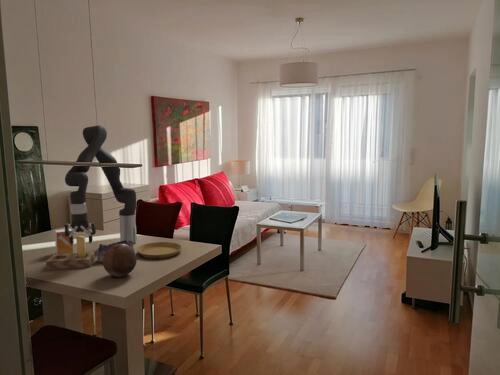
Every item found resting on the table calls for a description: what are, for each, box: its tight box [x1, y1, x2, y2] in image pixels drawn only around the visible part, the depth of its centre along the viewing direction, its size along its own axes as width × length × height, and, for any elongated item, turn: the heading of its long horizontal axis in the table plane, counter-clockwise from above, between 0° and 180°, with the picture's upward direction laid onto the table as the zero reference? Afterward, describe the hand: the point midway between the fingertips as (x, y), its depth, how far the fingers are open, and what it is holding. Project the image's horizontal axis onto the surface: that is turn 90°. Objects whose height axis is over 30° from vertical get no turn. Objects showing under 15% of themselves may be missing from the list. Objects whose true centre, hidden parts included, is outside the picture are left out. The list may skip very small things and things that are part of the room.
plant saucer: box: [136, 241, 182, 260], centre depth 219 cm, size 24×24×3 cm
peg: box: [76, 235, 87, 258], centre depth 200 cm, size 4×4×14 cm
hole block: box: [45, 251, 96, 270], centre depth 200 cm, size 20×12×4 cm, turn 100°
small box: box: [54, 228, 74, 254], centre depth 218 cm, size 8×6×13 cm
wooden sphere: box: [102, 244, 138, 278], centre depth 183 cm, size 15×15×15 cm
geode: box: [96, 240, 136, 264], centre depth 210 cm, size 20×12×10 cm, turn 142°
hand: (81, 243), depth 199 cm, fingers open, 8 cm apart
